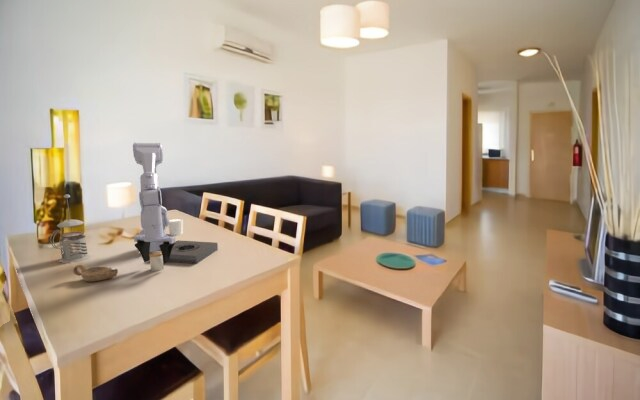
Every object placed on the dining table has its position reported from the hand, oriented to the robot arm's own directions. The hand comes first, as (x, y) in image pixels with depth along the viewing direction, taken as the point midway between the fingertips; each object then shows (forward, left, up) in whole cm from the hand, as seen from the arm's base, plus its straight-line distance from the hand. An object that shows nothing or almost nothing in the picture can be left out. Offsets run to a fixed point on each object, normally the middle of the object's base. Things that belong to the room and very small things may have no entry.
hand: (156, 261), depth 111 cm
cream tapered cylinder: (-20, +41, -3) cm, 46 cm away
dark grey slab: (+2, +15, -3) cm, 15 cm away
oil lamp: (-14, -11, -3) cm, 18 cm away
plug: (0, 0, -3) cm, 3 cm away
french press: (-38, +3, -3) cm, 38 cm away
